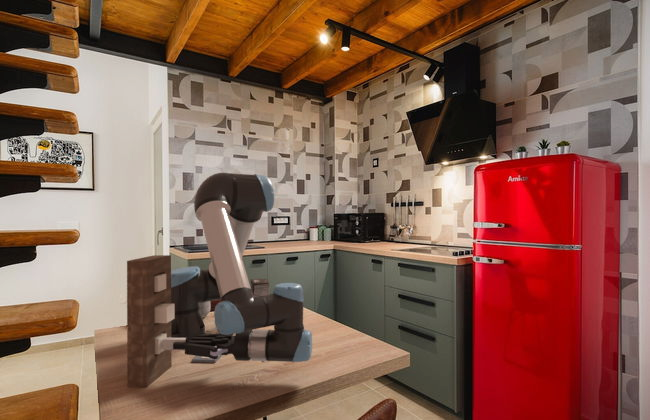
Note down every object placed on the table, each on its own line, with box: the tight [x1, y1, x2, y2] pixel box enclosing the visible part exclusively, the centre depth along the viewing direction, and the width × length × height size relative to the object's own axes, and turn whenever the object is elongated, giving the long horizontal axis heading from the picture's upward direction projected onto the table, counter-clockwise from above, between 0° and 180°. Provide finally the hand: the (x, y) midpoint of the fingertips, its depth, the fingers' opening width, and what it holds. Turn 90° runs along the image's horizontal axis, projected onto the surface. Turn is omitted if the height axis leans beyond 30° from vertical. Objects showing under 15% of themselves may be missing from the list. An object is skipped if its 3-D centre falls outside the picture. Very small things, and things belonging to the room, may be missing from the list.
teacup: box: [200, 301, 212, 319], centre depth 148 cm, size 14×11×8 cm
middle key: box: [154, 304, 175, 323], centre depth 93 cm, size 4×4×4 cm
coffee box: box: [250, 278, 270, 297], centre depth 140 cm, size 9×6×16 cm
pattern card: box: [191, 354, 223, 363], centre depth 106 cm, size 7×10×1 cm
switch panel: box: [126, 254, 172, 388], centre depth 93 cm, size 5×12×31 cm, turn 176°
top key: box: [154, 274, 166, 292], centre depth 93 cm, size 4×4×4 cm
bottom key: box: [155, 333, 167, 354], centre depth 93 cm, size 4×4×4 cm
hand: (163, 343), depth 93 cm, fingers closed
